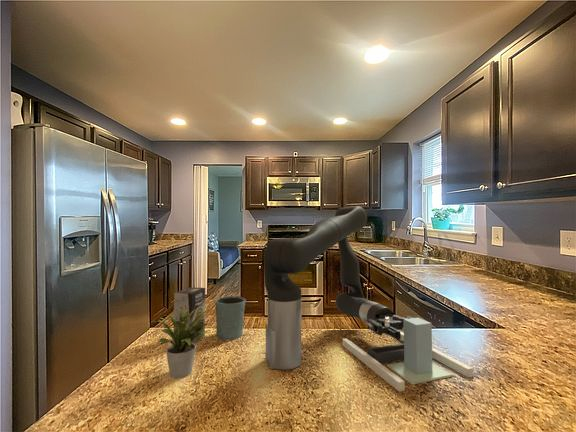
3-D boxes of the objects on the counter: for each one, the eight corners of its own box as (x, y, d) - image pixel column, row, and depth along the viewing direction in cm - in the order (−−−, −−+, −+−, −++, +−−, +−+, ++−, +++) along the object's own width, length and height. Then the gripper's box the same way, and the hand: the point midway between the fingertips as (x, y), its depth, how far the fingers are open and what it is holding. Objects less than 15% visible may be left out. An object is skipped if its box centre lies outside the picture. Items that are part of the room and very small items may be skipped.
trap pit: (376, 364, 76) (376, 354, 76) (367, 357, 80) (367, 348, 80) (424, 356, 81) (424, 347, 81) (414, 350, 85) (414, 341, 85)
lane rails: (399, 391, 63) (398, 382, 63) (342, 345, 88) (342, 338, 88) (472, 376, 70) (472, 368, 70) (400, 337, 94) (400, 331, 94)
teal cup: (219, 329, 102) (219, 295, 102) (247, 330, 101) (247, 296, 102) (210, 341, 92) (211, 303, 92) (242, 341, 91) (242, 303, 92)
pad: (411, 384, 66) (411, 382, 66) (387, 366, 75) (387, 364, 75) (452, 376, 70) (452, 374, 70) (424, 360, 78) (424, 358, 78)
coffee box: (191, 346, 88) (191, 293, 88) (172, 344, 89) (173, 292, 89) (205, 335, 96) (206, 287, 97) (188, 334, 98) (188, 286, 98)
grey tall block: (417, 374, 69) (416, 324, 70) (404, 366, 74) (403, 319, 74) (432, 372, 71) (431, 323, 71) (419, 363, 75) (418, 317, 76)
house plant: (170, 399, 60) (171, 321, 61) (133, 381, 68) (135, 311, 68) (219, 370, 72) (220, 305, 73) (184, 357, 80) (184, 298, 80)
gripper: (356, 305, 88) (389, 322, 72) (395, 301, 92) (435, 316, 76) (356, 330, 87) (390, 352, 72) (395, 325, 91) (435, 345, 76)
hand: (413, 334), depth 74 cm, fingers open, 8 cm apart
